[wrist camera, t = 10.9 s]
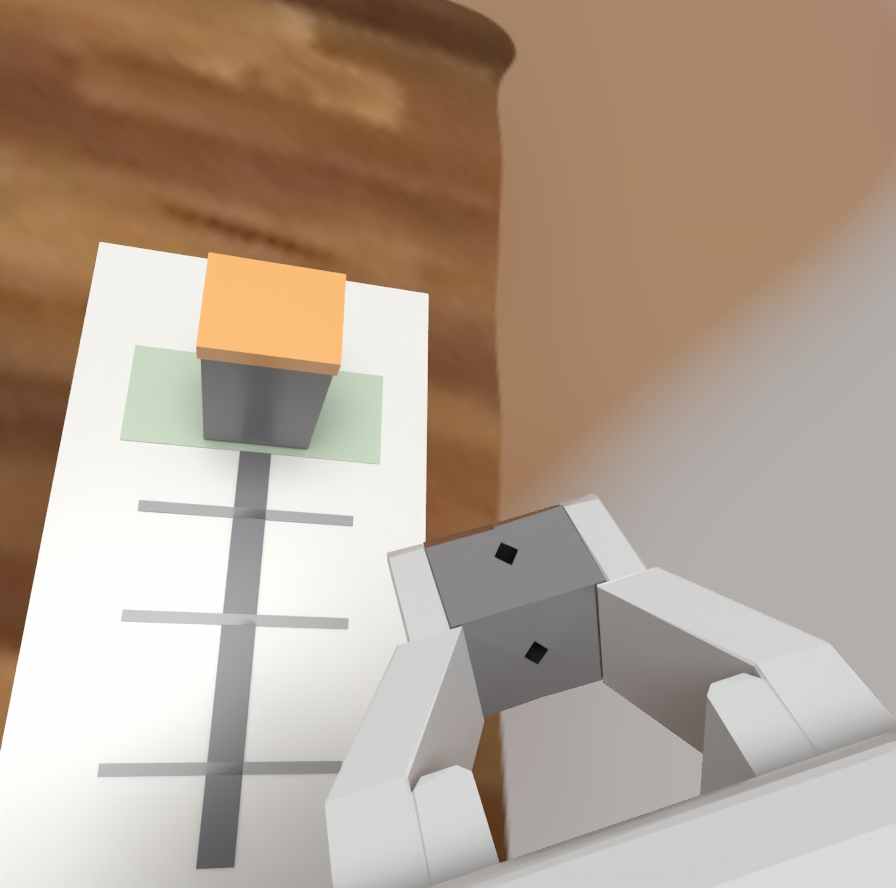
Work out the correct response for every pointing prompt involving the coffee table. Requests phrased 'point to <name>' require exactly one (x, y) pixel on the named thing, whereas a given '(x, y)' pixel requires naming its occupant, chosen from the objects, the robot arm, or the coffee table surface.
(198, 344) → the fader knob
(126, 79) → the coffee table surface
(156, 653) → the console
